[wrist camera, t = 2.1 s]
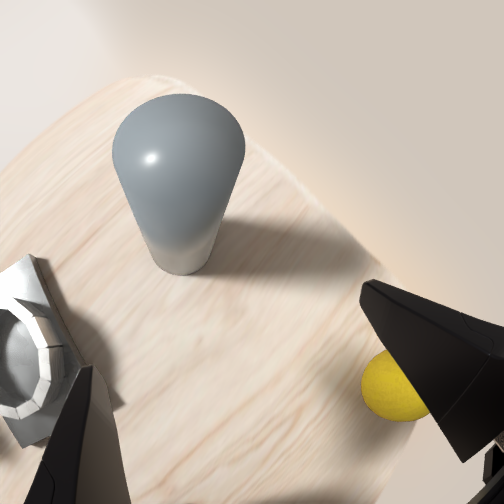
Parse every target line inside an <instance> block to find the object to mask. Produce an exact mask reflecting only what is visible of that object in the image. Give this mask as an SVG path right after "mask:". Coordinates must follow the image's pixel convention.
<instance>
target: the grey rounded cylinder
mask: <svg viewBox="0 0 504 504" xmlns="http://www.w3.org/2000/svg"><path fill="white" fill-rule="evenodd" d="M244 155H245V139H244V135H243V131H242V129H241V127H240V125H239V123H238V122H237V120H236V119H235V117H234V116H233V115H232V114H231V113H230V112H229V111H228V110H227V109H226V108H224V107H223V106H221V105H219V104H218V103H216V102H214V101H213V100H210V99H208V98H205V97H201V96H197V95H191V94H172V95H165V96H161V97H158V98H155V99H152V100H150V101H148V102H146V103H144V104H142V105H140V106H139V107H137V108H136V109H135V110H134V111H132V112H131V113H130V114H129V115H128V116H127V117H126V118H125V119H124V121H123V122H122V123H121V125H120V127H119V128H118V130H117V132H116V135H115V138H114V141H113V147H112V158H113V163H114V167H115V170H116V172H117V175H118V177H119V180H120V183H121V185H122V188H123V190H124V193H125V195H126V198H127V200H128V202H129V205H130V207H131V210H132V212H133V214H134V217H135V219H136V222H137V224H138V226H139V228H140V231H141V233H142V235H143V238H144V240H145V242H146V244H147V247H148V249H149V251H150V253H151V255H152V257H153V260H154V261H155V263H156V264H157V265H158V266H159V267H160V268H161V269H162V270H164V271H166V272H168V273H170V274H173V275H188V274H191V273H194V272H196V271H197V270H199V269H200V268H201V267H203V266H204V264H205V263H206V262H207V260H208V258H209V256H210V254H211V251H212V248H213V245H214V242H215V239H216V236H217V233H218V230H219V227H220V224H221V222H222V219H223V216H224V213H225V210H226V207H227V205H228V202H229V199H230V196H231V193H232V191H233V188H234V185H235V182H236V180H237V177H238V174H239V171H240V169H241V166H242V163H243V160H244Z"/></svg>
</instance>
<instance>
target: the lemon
mask: <svg viewBox="0 0 504 504" xmlns="http://www.w3.org/2000/svg"><path fill="white" fill-rule="evenodd" d="M361 392H362V396H363V399H364V401H365V403H366V404H367V406H368V407H369V408H370V409H371V410H372V411H373V412H374V413H375V414H377V415H378V416H380V417H382V418H385V419H388V420H391V421H396V422H404V421H414V420H417V419H420V418H423V417H424V416H426V415H428V414H429V413H430V412H429V410H428V409H427V407H426V406H425V404H424V403H423V401H422V400H421V398H420V397H419V395H418V394H417V392H416V391H415V389H414V388H413V386H412V385H411V383H410V382H409V381H408V379H407V378H406V376H405V375H404V373H403V372H402V370H401V369H400V368H399V366H398V365H397V363H396V362H395V360H394V359H393V358H392V356H391V355H390V353H389V352H388V350H385V351H383V352H381V353H380V354H378V355H377V356H375V357H374V358H373V359H372V360H371V361H370V362H369V364H368V365H367V367H366V368H365V370H364V373H363V376H362V381H361Z"/></svg>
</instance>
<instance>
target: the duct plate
mask: <svg viewBox="0 0 504 504" xmlns="http://www.w3.org/2000/svg"><path fill="white" fill-rule="evenodd" d="M82 366H86V363H85V362H84V360H83V358H82V356H81V355H80V353H79V351H78V349H77V347H76V346H75V344H74V342H73V340H72V338H71V336H70V334H69V332H68V330H67V328H66V326H65V324H64V322H63V320H62V318H61V316H60V314H59V312H58V310H57V308H56V306H55V304H54V301H53V299H52V297H51V295H50V292H49V290H48V288H47V285H46V283H45V281H44V278H43V276H42V273H41V271H40V268H39V266H38V263H37V261H36V258H35V257H34V256H32V255H30V254H27V255H26V256H24V257H23V258H22V259H20V260H19V261H17V262H16V263H15V264H13V265H12V266H10V267H9V268H8V269H6V270H5V271H4V272H2V273H1V274H0V415H1V416H3V418H4V420H5V421H6V423H7V425H8V427H9V428H10V430H11V431H12V433H13V435H14V436H15V438H16V439H17V441H18V443H19V444H20V446H21V447H22V449H23V448H25V447H27V446H29V445H31V444H33V443H35V442H38V441H40V440H42V439H44V438H46V437H48V436H50V435H51V433H52V431H53V428H54V426H55V423H56V421H57V419H58V416H59V414H60V412H61V409H62V407H63V405H64V403H65V400H66V398H67V396H68V394H69V391H70V389H71V387H72V385H73V383H74V381H75V378H76V376H77V374H78V372H79V370H80V368H81V367H82Z"/></svg>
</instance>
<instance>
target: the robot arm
mask: <svg viewBox="0 0 504 504" xmlns="http://www.w3.org/2000/svg"><path fill="white" fill-rule="evenodd" d="M359 302H360V306H361V308H362V310H363V311H364V313H365V315H366V317H367V318H368V320H369V322H370V323H371V325H372V327H373V329H374V330H375V332H376V334H377V336H378V337H379V339H380V340H381V342H382V343H383V345H384V346H385V348H386V349H387V350H388V352H389V353H390V355H391V356H392V358H393V359H394V360H395V362H396V363H397V365H398V366H399V368H400V369H401V370H402V372H403V373H404V375H405V376H406V378H407V379H408V381H409V382H410V383H411V385H412V386H413V388H414V389H415V391H416V392H417V394H418V395H419V397H420V398H421V400H422V401H423V403H424V404H425V406H426V407H427V409H428V410H429V412H430V413H431V415H432V416H433V418H434V419H435V421H436V422H437V423H438V426H439V427H440V429H441V430H442V432H443V433H444V435H445V437H446V438H447V440H448V441H449V443H450V445H451V446H452V447H453V449H454V451H455V453H456V454H457V456H458V457H459V459H460V461H461V462H462V463H464V462H466V461H467V460H468V459H470V458H471V457H472V456H474V455H475V454H476V453H478V452H479V451H480V450H481V449H483V448H484V447H485V446H486V445H487V444H489V443H490V442H491V441H492V440H494V442H495V444H494V445H493V446H492V447H491V448H490V449H489V450H488V451H487V453H486V454H485V461H484V473H483V481H484V483H485V484H486V485H485V487H484V488H483V489H482V490H481V491H480V492H479V493H478V494H477V495H476V496H475V497H474V498H472V499H471V500H470V502H468V503H467V504H504V327H502V326H499V325H496V324H492V323H489V322H486V321H483V320H480V319H477V318H475V317H472V316H469V315H467V314H464V313H462V312H461V313H460V312H459V311H456V310H454V309H451V308H449V307H446V306H444V305H441V304H438V303H436V302H433V301H431V300H428V299H425V298H423V297H420V296H418V295H415V294H412V293H410V292H407V291H404V290H402V289H399V288H397V287H394V286H391V285H389V284H386V283H383V282H381V281H378V280H375V279H371V280H369V281H366V282H364V283H363V285H362V289H361V294H360V299H359ZM42 460H43V461H42ZM42 460H41V462H40V464H39V467H38V470H37V472H36V475H35V478H34V480H33V483H32V485H31V488H30V490H29V492H28V495H27V497H26V499H25V502H24V504H131V500H130V496H129V492H128V487H127V483H126V478H125V473H124V468H123V462H122V457H121V451H120V445H119V439H118V433H117V428H116V423H115V419H114V415H113V411H112V407H111V403H110V398H109V394H108V389H107V385H106V382H105V380H104V378H103V377H102V375H101V374H100V373H99V371H98V370H97V368H96V367H95V366H94V365H93V364H91V365H86V366H82V367H81V368H80V370H79V372H78V374H77V376H76V378H75V381H74V383H73V385H72V387H71V389H70V391H69V394H68V396H67V398H66V400H65V403H64V405H63V407H62V409H61V412H60V414H59V416H58V419H57V421H56V423H55V426H54V428H53V431H52V433H51V436H50V438H49V441H48V443H47V446H46V448H45V451H44V454H43V456H42Z"/></svg>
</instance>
